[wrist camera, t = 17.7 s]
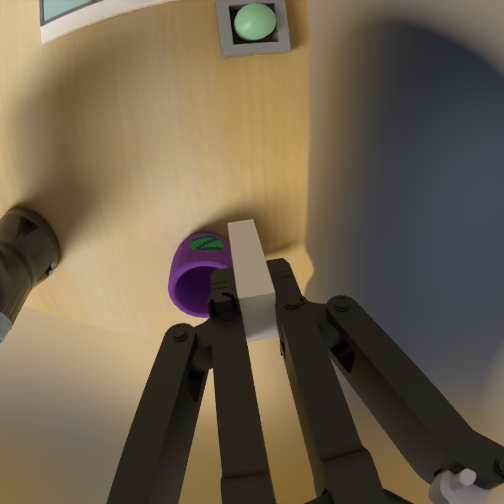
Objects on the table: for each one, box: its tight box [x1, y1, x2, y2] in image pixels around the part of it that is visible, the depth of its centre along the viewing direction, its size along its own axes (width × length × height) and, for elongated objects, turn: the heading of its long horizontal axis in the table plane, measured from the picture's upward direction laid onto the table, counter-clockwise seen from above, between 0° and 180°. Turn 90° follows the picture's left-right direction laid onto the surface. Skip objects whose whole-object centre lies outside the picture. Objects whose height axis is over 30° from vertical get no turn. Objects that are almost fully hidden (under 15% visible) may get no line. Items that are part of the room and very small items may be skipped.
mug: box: [168, 232, 233, 318], centre depth 49 cm, size 17×11×10 cm, turn 82°
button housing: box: [215, 0, 291, 58], centre depth 32 cm, size 9×9×4 cm
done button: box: [233, 3, 276, 42], centre depth 31 cm, size 5×5×5 cm
